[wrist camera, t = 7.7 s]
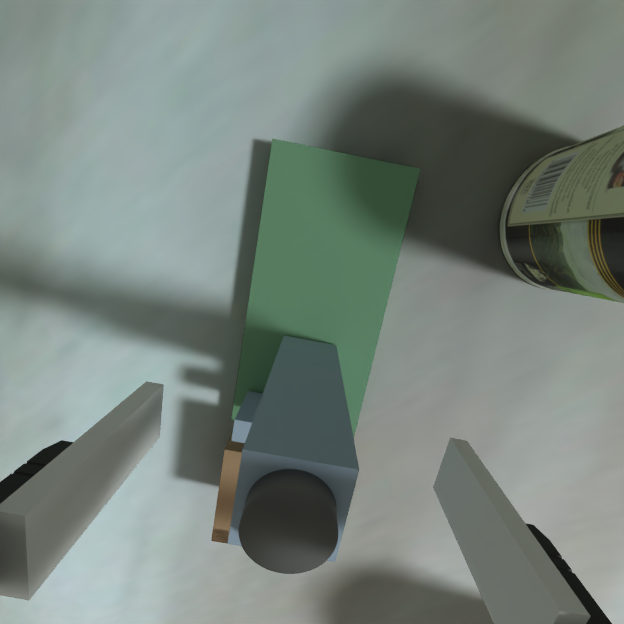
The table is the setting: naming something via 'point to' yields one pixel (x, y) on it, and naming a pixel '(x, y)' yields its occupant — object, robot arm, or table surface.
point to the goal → (227, 490)
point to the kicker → (295, 461)
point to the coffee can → (570, 219)
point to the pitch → (324, 261)
